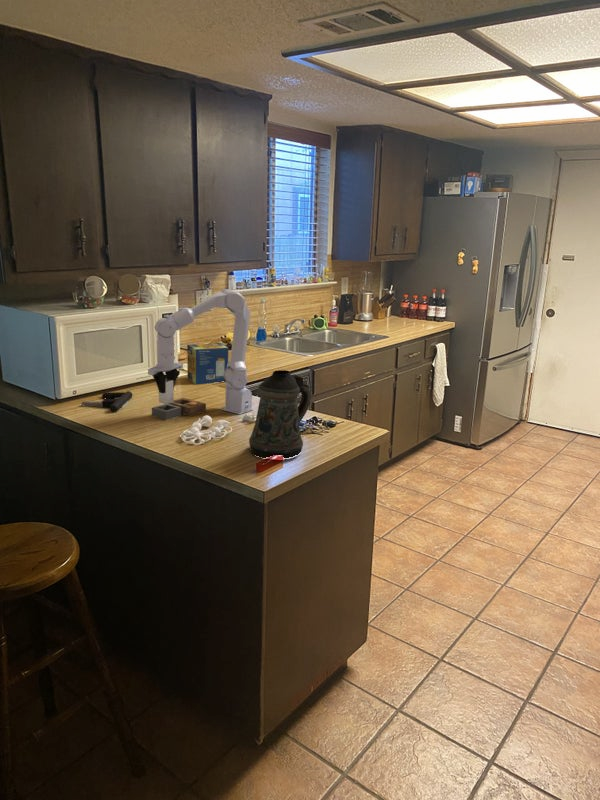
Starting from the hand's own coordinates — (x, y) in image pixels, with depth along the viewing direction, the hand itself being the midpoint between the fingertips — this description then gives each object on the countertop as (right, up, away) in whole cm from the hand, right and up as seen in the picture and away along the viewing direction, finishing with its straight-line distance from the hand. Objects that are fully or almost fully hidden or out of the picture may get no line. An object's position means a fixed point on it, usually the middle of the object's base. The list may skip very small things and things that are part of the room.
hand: (166, 391), depth 212 cm
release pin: (+8, -7, +7) cm, 13 cm away
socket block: (+6, -7, +9) cm, 13 cm away
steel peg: (0, -4, +1) cm, 4 cm away
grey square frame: (0, -9, +2) cm, 9 cm away
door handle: (-25, -5, +13) cm, 28 cm away
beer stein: (+40, -19, -25) cm, 51 cm away
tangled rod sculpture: (+17, -15, -15) cm, 27 cm away
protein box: (+6, +5, +53) cm, 54 cm away
